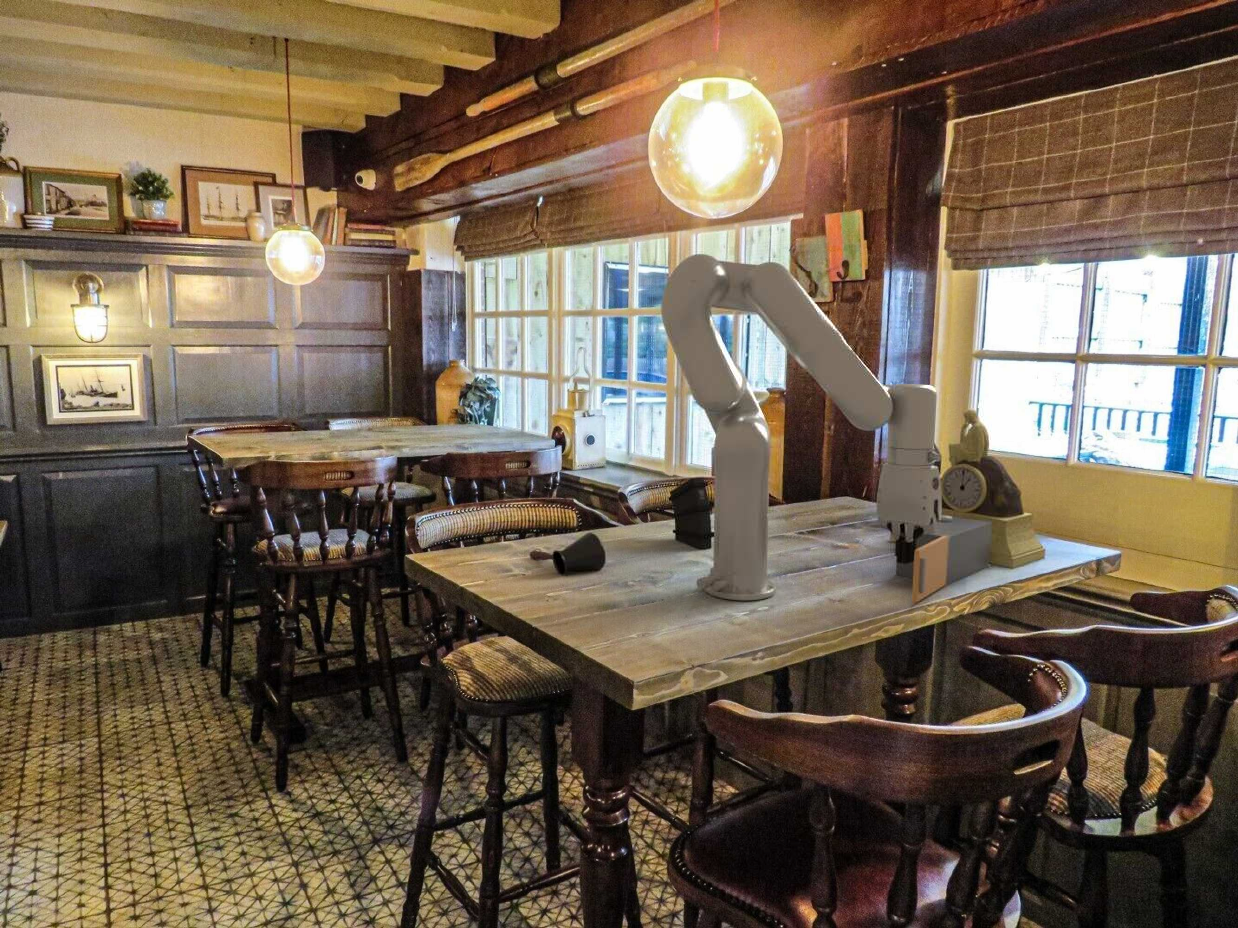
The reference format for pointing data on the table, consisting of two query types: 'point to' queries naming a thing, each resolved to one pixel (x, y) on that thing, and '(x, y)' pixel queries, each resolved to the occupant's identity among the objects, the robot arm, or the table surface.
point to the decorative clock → (988, 497)
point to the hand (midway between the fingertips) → (905, 561)
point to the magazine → (692, 514)
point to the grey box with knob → (958, 547)
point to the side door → (930, 567)
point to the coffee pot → (576, 555)
